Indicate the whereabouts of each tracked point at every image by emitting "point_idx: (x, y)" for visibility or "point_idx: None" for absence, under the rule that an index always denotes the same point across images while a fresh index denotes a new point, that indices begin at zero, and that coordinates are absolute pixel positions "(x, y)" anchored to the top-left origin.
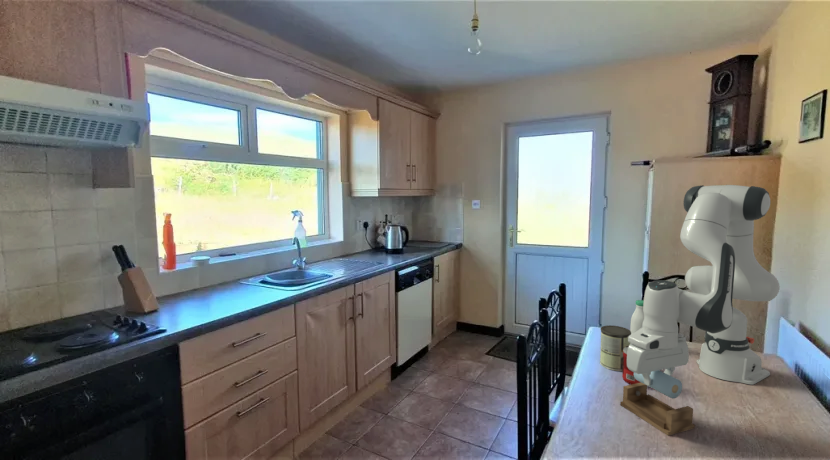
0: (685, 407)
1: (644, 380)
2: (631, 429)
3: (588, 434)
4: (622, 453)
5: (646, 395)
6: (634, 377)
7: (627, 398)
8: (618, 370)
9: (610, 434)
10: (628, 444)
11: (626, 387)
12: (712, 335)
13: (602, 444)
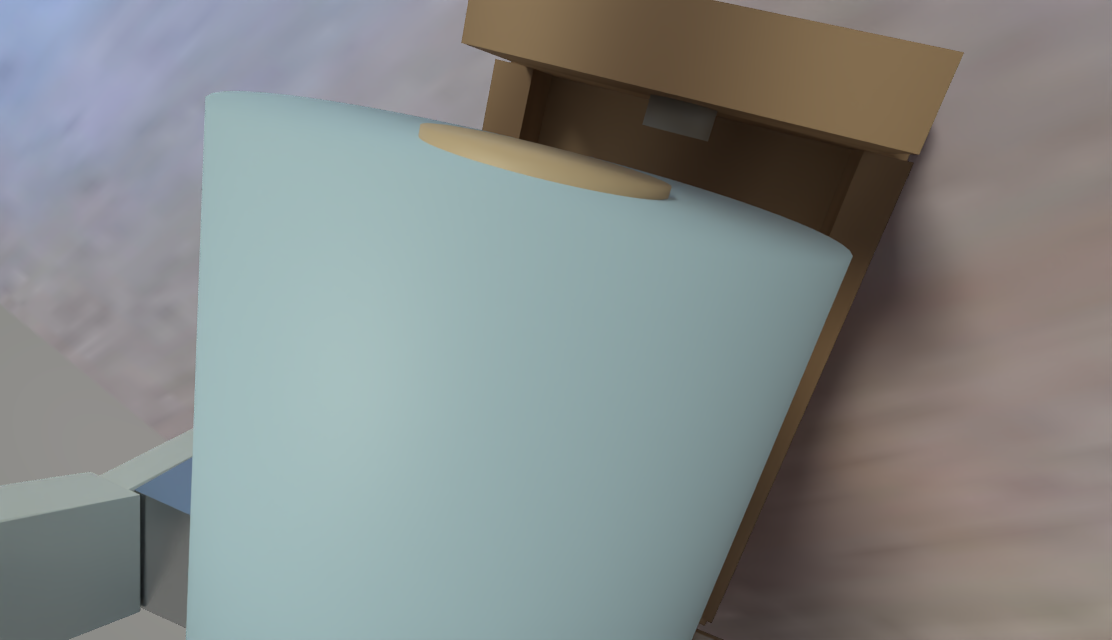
0: None
1: (158, 459)
2: None
3: (17, 140)
4: (76, 366)
5: (862, 152)
6: (399, 115)
7: (529, 66)
8: None
9: (131, 231)
10: (155, 354)
11: (476, 12)
12: None
13: (33, 255)
